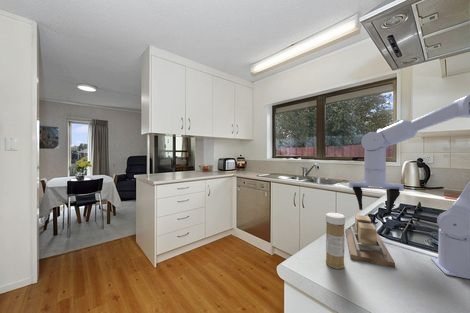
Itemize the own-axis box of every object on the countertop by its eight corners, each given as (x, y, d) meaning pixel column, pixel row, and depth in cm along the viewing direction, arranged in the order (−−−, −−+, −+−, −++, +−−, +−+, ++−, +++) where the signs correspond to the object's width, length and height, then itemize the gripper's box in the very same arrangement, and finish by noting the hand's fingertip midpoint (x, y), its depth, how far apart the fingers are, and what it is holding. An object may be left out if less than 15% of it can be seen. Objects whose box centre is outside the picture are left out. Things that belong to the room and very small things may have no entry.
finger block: (372, 242, 63) (372, 223, 63) (376, 250, 58) (376, 229, 58) (357, 239, 65) (358, 221, 65) (360, 247, 60) (360, 227, 60)
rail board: (377, 236, 70) (378, 216, 69) (394, 267, 52) (395, 239, 51) (345, 232, 74) (345, 212, 74) (350, 258, 56) (350, 233, 56)
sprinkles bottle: (330, 258, 56) (330, 210, 56) (347, 265, 53) (348, 214, 52) (322, 264, 53) (322, 214, 53) (340, 272, 50) (340, 218, 50)
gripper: (398, 169, 66) (398, 209, 66) (348, 167, 72) (348, 205, 72) (406, 171, 59) (405, 216, 60) (350, 169, 66) (349, 210, 66)
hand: (374, 210), depth 66 cm, fingers open, 7 cm apart
